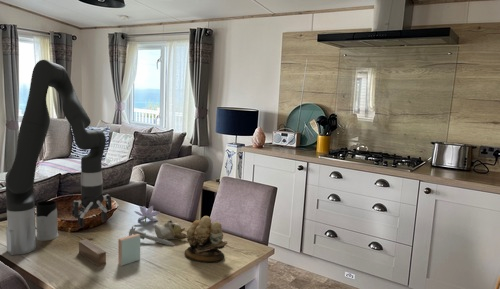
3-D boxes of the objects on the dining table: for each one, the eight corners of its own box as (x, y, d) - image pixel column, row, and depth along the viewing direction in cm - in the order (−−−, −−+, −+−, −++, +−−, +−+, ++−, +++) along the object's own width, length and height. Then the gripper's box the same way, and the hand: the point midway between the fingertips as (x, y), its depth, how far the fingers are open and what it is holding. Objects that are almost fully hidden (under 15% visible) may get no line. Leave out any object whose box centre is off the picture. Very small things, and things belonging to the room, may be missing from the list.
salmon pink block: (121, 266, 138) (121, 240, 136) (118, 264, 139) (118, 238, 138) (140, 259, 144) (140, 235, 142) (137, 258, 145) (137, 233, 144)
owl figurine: (231, 254, 153) (233, 214, 150) (220, 266, 141) (222, 223, 139) (191, 246, 158) (193, 208, 156) (178, 258, 147) (179, 216, 145)
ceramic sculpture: (152, 217, 166) (185, 216, 172) (151, 235, 167) (184, 234, 173) (156, 225, 157) (191, 224, 163) (155, 245, 158) (189, 243, 164)
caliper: (128, 241, 161) (128, 227, 160) (129, 240, 162) (129, 226, 161) (174, 246, 158) (174, 232, 157) (175, 245, 159) (175, 231, 158)
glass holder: (51, 241, 156) (50, 206, 154) (18, 239, 156) (17, 204, 154) (62, 233, 165) (61, 200, 163) (31, 231, 165) (29, 198, 163)
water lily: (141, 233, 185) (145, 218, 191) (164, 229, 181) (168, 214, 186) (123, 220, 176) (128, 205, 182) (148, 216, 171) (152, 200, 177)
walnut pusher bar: (98, 267, 137) (98, 254, 136) (79, 253, 147) (78, 241, 146) (105, 264, 139) (105, 251, 138) (86, 250, 149) (86, 239, 149)
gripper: (77, 188, 132) (78, 231, 134) (114, 181, 142) (115, 222, 144) (68, 184, 136) (69, 226, 139) (105, 178, 147) (105, 217, 149)
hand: (92, 224), depth 142 cm, fingers open, 8 cm apart
